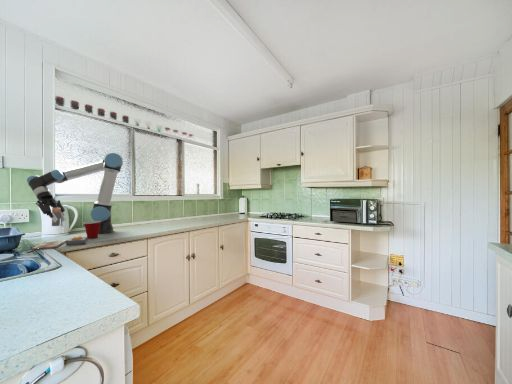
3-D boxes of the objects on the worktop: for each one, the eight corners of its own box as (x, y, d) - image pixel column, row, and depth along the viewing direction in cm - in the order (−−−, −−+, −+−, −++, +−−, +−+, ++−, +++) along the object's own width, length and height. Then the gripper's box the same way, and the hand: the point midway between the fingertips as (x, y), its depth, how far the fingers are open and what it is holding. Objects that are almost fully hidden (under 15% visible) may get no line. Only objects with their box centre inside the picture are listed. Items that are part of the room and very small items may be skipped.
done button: (82, 239, 144) (82, 236, 144) (80, 240, 140) (80, 237, 140) (73, 239, 142) (74, 236, 142) (72, 241, 138) (72, 237, 138)
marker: (60, 225, 150) (61, 207, 150) (58, 226, 147) (59, 208, 147) (52, 225, 149) (53, 207, 148) (50, 226, 145) (51, 208, 145)
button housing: (87, 241, 147) (87, 236, 147) (84, 244, 139) (84, 239, 139) (70, 242, 143) (70, 238, 143) (65, 245, 135) (66, 240, 135)
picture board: (67, 241, 146) (67, 239, 146) (56, 248, 129) (56, 246, 129) (45, 243, 141) (45, 241, 141) (31, 250, 123) (31, 248, 123)
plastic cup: (82, 237, 159) (82, 221, 159) (100, 235, 166) (101, 220, 166) (82, 240, 151) (82, 222, 151) (101, 238, 157) (102, 221, 158)
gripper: (54, 198, 160) (70, 222, 156) (24, 198, 143) (41, 226, 139) (60, 191, 158) (76, 215, 154) (30, 190, 142) (48, 218, 138)
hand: (60, 220), depth 147 cm, fingers closed on marker, 4 cm apart
